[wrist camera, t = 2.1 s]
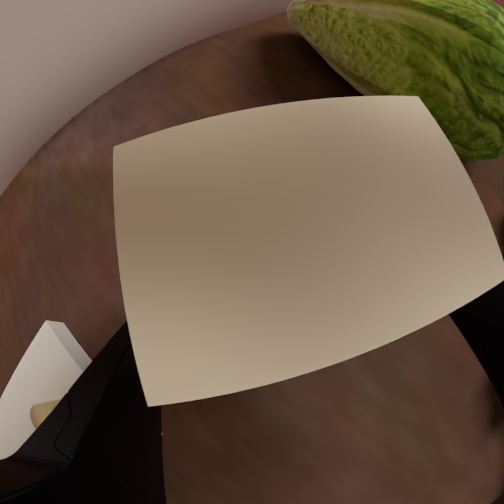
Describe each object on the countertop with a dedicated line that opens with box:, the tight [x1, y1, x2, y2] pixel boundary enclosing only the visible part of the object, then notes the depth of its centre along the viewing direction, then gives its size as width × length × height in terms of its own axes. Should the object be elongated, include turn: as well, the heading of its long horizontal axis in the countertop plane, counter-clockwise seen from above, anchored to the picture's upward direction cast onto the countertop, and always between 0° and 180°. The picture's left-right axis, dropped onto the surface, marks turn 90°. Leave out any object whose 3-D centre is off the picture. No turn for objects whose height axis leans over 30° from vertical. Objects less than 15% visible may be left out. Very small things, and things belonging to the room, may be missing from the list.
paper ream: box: [113, 96, 504, 407], centre depth 10 cm, size 4×6×13 cm
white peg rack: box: [0, 320, 163, 460], centre depth 11 cm, size 10×18×4 cm, turn 140°
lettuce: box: [286, 0, 504, 162], centre depth 17 cm, size 15×24×16 cm
